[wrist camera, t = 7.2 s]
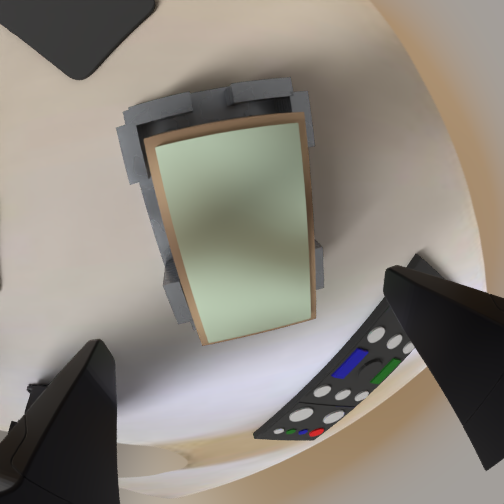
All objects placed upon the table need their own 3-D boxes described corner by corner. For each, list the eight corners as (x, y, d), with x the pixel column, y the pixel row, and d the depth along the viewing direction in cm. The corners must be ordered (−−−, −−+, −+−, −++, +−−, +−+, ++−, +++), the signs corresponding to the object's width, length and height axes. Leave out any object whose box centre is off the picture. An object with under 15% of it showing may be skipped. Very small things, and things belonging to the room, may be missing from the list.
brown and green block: (287, 271, 19) (318, 321, 14) (197, 291, 18) (202, 349, 13) (270, 113, 14) (306, 111, 9) (159, 133, 13) (141, 139, 9)
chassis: (306, 269, 22) (326, 298, 19) (180, 300, 21) (180, 335, 18) (284, 81, 16) (308, 72, 12) (126, 112, 14) (108, 110, 11)
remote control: (252, 430, 33) (255, 441, 31) (412, 251, 25) (425, 260, 23) (310, 433, 38) (314, 442, 36) (450, 286, 29) (460, 294, 27)
